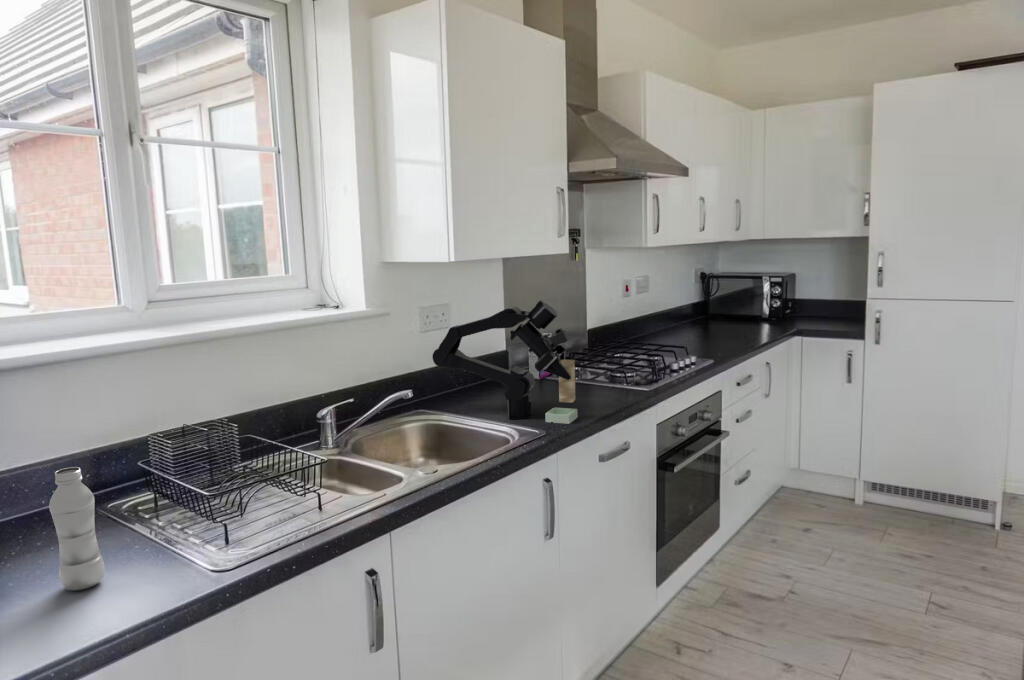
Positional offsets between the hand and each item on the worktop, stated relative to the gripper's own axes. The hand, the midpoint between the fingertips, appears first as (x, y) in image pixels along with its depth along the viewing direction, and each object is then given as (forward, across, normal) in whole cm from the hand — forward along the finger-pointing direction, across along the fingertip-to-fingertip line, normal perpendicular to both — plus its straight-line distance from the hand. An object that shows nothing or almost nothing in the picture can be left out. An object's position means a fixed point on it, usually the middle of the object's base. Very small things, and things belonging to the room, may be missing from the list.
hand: (571, 377), depth 206 cm
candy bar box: (-8, +60, +27) cm, 66 cm away
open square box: (+7, -2, +11) cm, 13 cm away
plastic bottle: (-32, -115, +51) cm, 130 cm away
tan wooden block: (+4, 0, +6) cm, 7 cm away
